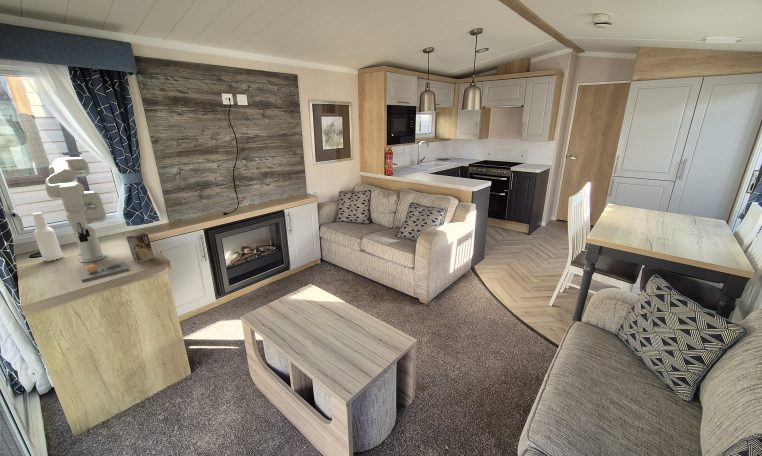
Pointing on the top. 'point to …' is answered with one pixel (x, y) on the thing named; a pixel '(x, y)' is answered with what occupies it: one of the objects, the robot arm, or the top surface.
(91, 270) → the ball
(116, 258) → the top surface
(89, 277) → the deck
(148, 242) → the coffee box
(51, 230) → the alcohol
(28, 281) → the top surface
